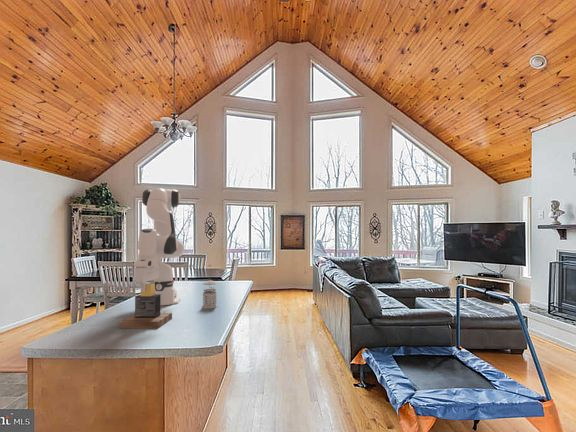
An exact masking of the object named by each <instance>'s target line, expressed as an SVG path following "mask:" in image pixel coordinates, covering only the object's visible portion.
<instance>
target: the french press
mask: <svg viewBox="0 0 576 432" xmlns="http://www.w3.org/2000/svg"><path fill="white" fill-rule="evenodd" d="M207 267H212V264H210V263H209V264H208V266H207ZM216 284H217V282H216V281H214V280H211V279H209V280H205V281H204V282H203V283H202V285H204V286H210V288H206V289H203V291H204V292H203V293H202V298H203V299H202V305H201V308H202V309H213V308H217V307H219V305H218V304H217V291H216V290H217V289H216V288H215V286H213V287H212V285H216Z"/></svg>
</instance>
